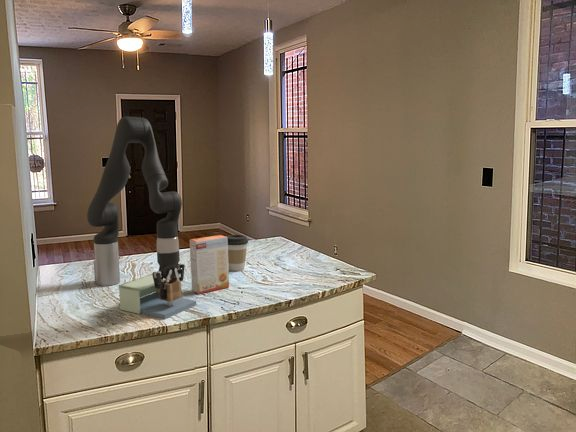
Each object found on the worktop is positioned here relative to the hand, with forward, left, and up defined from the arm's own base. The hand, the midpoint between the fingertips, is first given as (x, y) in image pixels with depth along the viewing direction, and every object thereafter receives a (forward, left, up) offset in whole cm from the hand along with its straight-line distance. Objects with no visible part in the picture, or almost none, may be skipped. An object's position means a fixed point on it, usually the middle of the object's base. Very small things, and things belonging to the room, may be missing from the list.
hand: (170, 296), depth 177 cm
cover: (-11, 0, -5) cm, 12 cm away
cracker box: (-2, +25, -5) cm, 26 cm away
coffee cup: (-10, +54, -5) cm, 55 cm away
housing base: (-5, 0, -5) cm, 7 cm away
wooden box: (0, 0, -1) cm, 1 cm away
